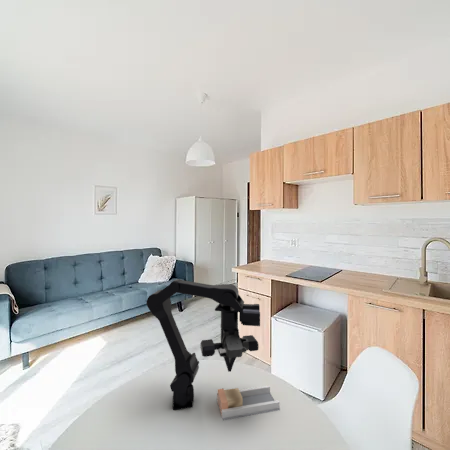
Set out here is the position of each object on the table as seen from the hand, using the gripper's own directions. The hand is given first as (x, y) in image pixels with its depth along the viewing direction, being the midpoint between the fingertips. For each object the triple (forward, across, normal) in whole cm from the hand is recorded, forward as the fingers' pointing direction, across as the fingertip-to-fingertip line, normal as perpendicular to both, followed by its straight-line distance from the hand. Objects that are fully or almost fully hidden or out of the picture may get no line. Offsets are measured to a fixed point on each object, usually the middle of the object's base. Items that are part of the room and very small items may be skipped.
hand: (229, 371), depth 80 cm
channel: (+12, +6, -1) cm, 13 cm away
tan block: (+11, +1, -1) cm, 11 cm away
